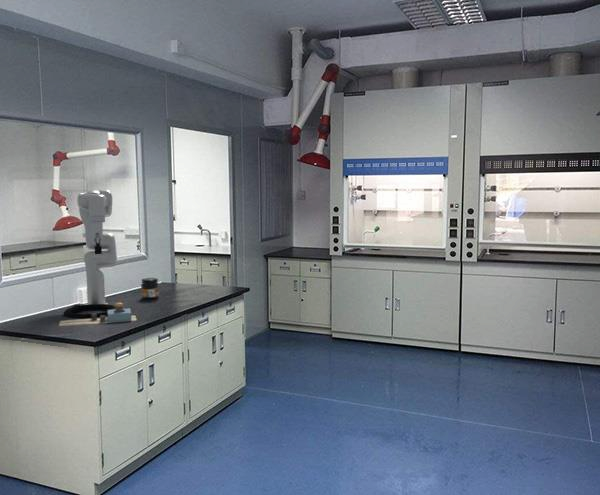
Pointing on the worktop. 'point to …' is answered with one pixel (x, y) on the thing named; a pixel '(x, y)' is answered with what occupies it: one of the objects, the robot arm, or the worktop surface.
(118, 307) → the connector plug
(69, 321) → the board
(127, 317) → the end holder
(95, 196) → the robot arm
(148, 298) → the supplement container
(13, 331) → the worktop surface
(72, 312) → the cable lock
